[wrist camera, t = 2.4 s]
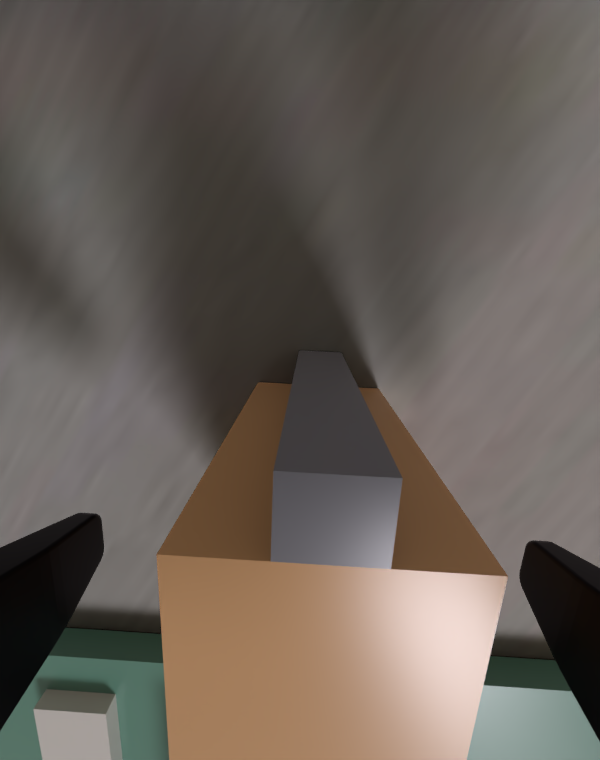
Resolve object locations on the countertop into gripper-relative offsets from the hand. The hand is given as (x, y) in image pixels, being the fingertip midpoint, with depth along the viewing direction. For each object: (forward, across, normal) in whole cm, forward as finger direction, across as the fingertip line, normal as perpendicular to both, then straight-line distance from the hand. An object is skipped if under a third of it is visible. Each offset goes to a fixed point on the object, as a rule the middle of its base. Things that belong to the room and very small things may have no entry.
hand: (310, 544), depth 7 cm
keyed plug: (+4, 0, 0) cm, 4 cm away
